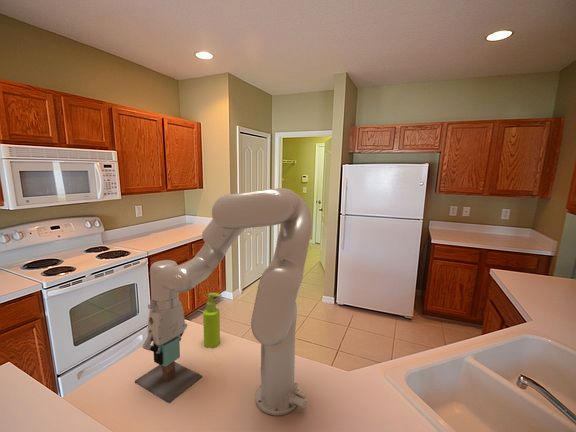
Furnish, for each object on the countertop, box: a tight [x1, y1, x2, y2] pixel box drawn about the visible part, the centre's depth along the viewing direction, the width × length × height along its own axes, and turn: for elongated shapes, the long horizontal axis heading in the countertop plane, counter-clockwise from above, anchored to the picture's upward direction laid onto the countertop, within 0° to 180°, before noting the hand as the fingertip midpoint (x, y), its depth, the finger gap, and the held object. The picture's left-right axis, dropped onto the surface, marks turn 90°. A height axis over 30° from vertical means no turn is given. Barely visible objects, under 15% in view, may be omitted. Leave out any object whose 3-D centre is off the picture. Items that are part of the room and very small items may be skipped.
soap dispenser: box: [202, 292, 222, 349], centre depth 103 cm, size 6×7×20 cm
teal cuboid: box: [156, 337, 181, 367], centre depth 84 cm, size 5×5×7 cm
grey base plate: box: [134, 360, 203, 404], centre depth 84 cm, size 16×12×7 cm
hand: (167, 357), depth 84 cm, fingers closed on teal cuboid, 5 cm apart
